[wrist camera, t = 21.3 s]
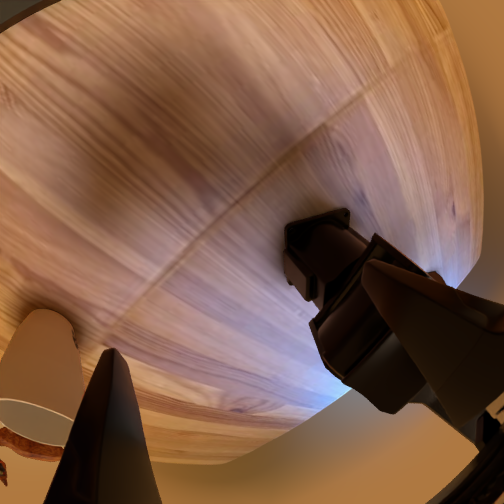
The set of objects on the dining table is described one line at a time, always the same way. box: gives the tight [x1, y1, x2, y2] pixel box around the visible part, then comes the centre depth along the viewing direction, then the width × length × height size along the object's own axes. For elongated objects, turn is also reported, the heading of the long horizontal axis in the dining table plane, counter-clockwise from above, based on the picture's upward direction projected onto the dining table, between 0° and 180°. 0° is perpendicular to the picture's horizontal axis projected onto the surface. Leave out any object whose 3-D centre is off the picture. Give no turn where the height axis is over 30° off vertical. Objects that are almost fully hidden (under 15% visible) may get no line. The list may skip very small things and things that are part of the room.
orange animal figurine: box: [0, 427, 65, 486], centre depth 19 cm, size 18×7×14 cm, turn 47°
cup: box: [0, 309, 85, 447], centre depth 15 cm, size 8×8×10 cm
